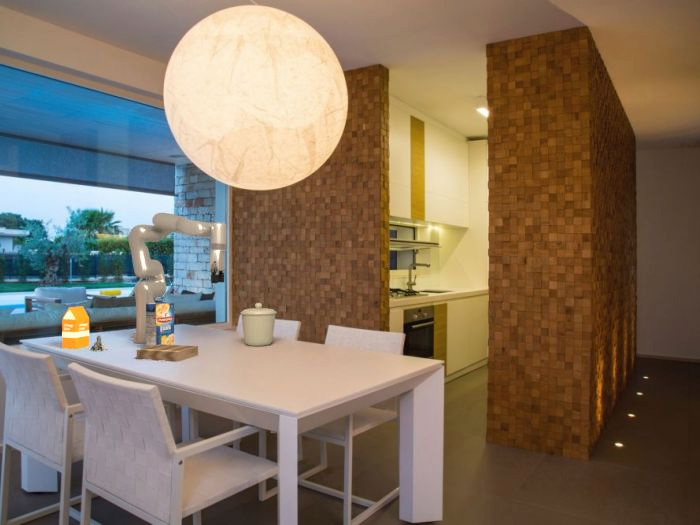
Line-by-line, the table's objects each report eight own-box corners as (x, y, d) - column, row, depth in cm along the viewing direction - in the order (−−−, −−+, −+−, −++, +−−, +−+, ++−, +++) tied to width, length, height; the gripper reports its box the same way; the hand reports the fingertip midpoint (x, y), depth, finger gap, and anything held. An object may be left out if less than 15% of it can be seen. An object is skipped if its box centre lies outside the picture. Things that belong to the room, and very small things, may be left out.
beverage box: (145, 350, 255) (145, 303, 254) (164, 347, 264) (164, 302, 264) (156, 352, 251) (156, 304, 251) (174, 348, 261) (174, 302, 261)
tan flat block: (136, 359, 233) (136, 349, 233) (159, 353, 249) (159, 343, 249) (177, 361, 228) (177, 351, 228) (198, 355, 243) (198, 345, 243)
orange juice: (61, 349, 257) (62, 307, 257) (76, 347, 265) (76, 305, 265) (75, 350, 254) (75, 307, 254) (89, 347, 263) (89, 306, 263)
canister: (280, 342, 282) (280, 301, 281) (271, 348, 264) (271, 304, 263) (246, 341, 283) (246, 301, 283) (235, 347, 265) (235, 304, 265)
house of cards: (78, 353, 249) (78, 336, 249) (93, 350, 257) (93, 334, 257) (95, 354, 246) (94, 337, 246) (108, 351, 254) (108, 335, 254)
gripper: (216, 247, 275) (216, 281, 275) (204, 247, 258) (204, 283, 258) (231, 248, 274) (230, 282, 274) (220, 247, 257) (219, 283, 257)
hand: (217, 282), depth 266 cm, fingers open, 9 cm apart
